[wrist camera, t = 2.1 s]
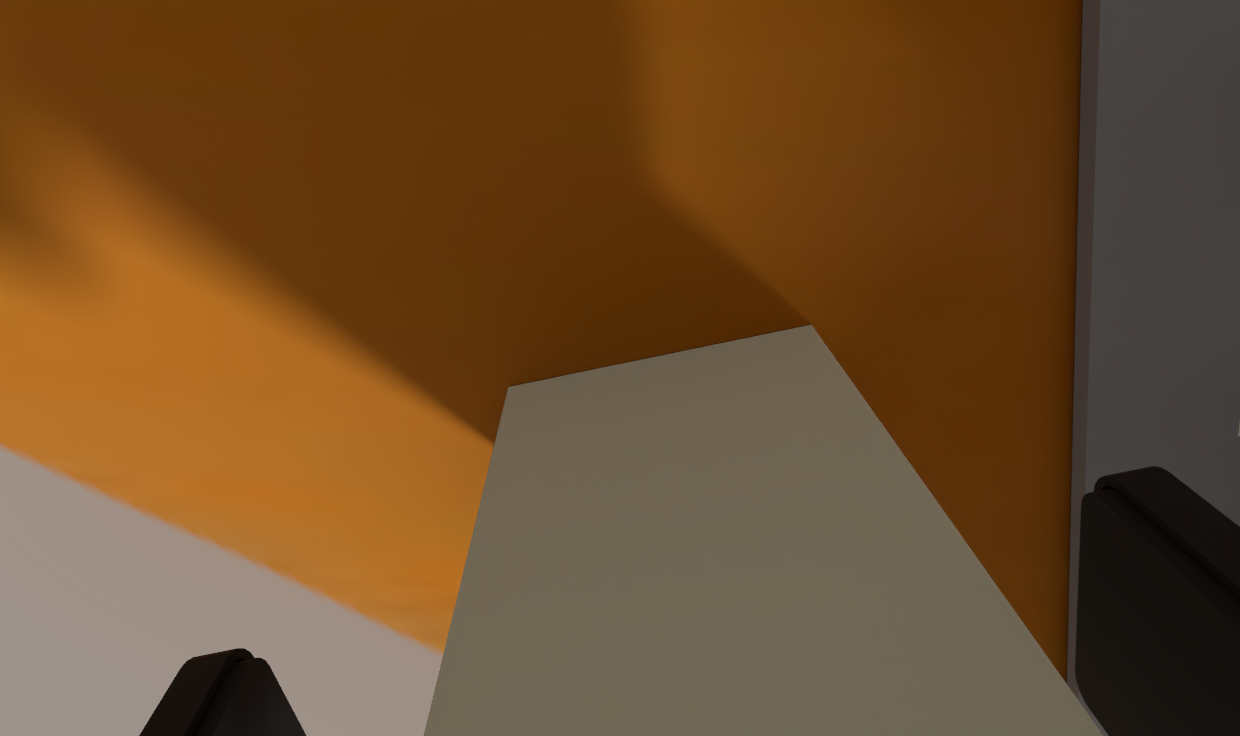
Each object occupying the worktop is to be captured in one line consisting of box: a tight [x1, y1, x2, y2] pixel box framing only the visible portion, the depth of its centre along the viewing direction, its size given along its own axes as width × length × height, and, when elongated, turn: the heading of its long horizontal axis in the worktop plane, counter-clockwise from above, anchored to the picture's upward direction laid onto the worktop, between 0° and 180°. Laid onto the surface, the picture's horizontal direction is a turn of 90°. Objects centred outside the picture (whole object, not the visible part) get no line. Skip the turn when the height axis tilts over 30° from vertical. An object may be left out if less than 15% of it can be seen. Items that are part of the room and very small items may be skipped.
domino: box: [424, 325, 1103, 736], centre depth 11 cm, size 2×6×11 cm, turn 102°
